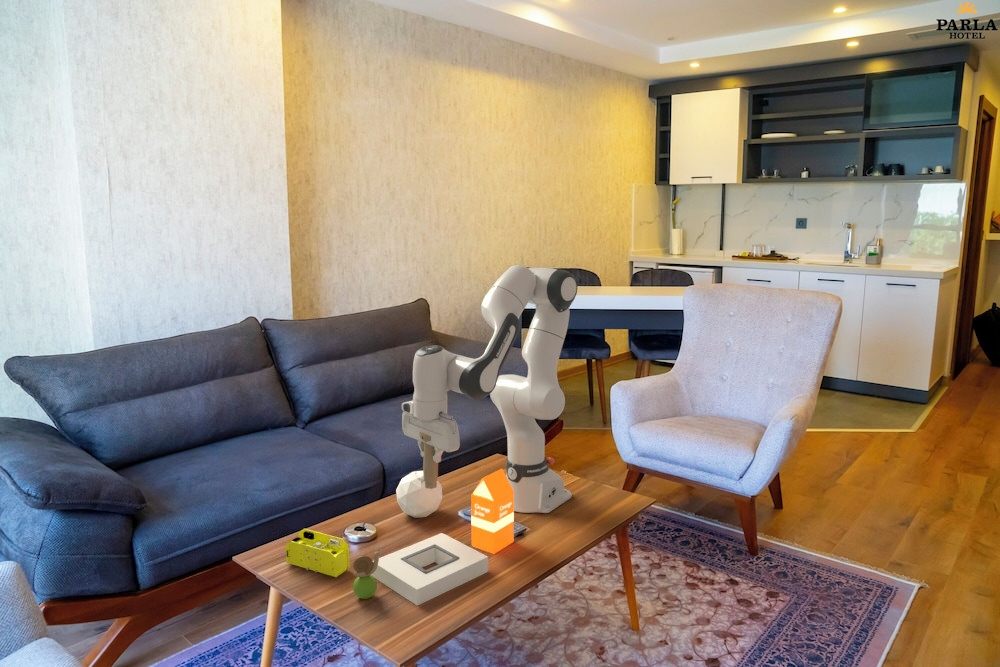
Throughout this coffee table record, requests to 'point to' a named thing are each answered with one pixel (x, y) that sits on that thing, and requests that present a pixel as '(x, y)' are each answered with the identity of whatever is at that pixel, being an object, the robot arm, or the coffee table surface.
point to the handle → (429, 463)
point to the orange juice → (492, 513)
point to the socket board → (422, 584)
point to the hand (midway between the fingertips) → (430, 459)
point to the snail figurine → (365, 575)
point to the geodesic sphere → (418, 495)
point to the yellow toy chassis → (318, 553)
